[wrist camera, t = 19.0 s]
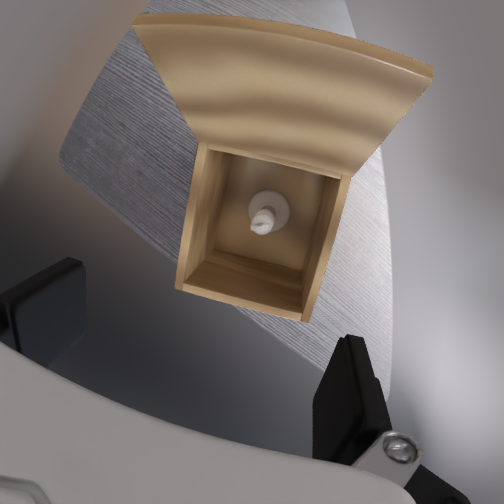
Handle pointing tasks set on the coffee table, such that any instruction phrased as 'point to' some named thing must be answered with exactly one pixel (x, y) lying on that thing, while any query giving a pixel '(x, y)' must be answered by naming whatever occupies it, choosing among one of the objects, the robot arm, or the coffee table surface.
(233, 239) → the box
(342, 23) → the coffee table surface
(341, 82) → the lid
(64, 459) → the robot arm
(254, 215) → the chess piece
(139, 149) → the coffee table surface
